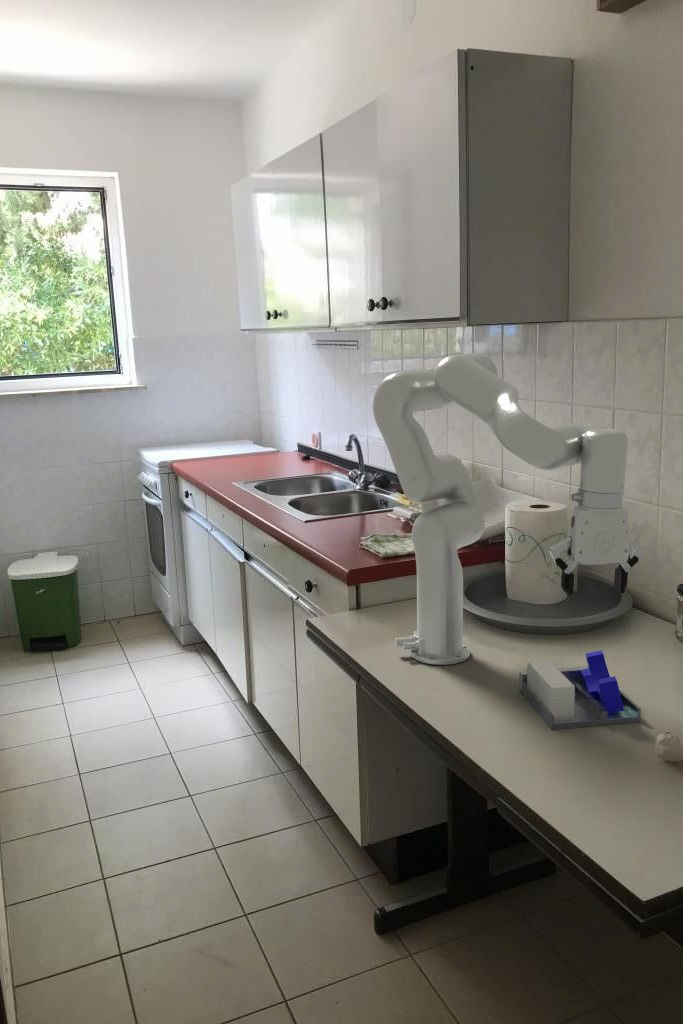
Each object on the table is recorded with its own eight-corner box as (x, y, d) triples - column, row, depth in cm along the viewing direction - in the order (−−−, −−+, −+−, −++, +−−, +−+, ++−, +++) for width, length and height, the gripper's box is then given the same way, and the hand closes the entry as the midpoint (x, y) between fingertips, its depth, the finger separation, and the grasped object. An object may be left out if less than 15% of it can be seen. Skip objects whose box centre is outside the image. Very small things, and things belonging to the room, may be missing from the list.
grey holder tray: (551, 729, 142) (552, 691, 141) (519, 691, 158) (519, 656, 156) (640, 722, 144) (642, 684, 143) (599, 684, 160) (601, 650, 158)
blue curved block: (584, 684, 157) (577, 655, 155) (608, 678, 156) (601, 650, 155) (598, 716, 145) (590, 686, 144) (624, 710, 145) (616, 680, 143)
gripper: (561, 505, 143) (554, 600, 147) (657, 503, 145) (648, 597, 149) (545, 495, 150) (539, 587, 154) (637, 494, 152) (629, 584, 156)
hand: (593, 591), depth 151 cm, fingers open, 9 cm apart
